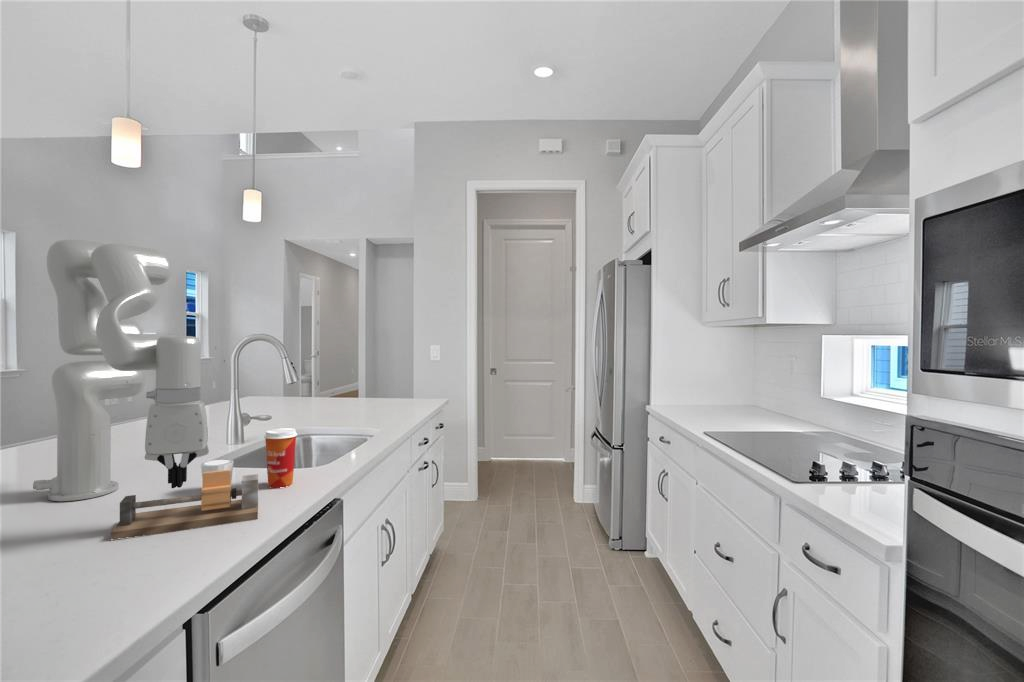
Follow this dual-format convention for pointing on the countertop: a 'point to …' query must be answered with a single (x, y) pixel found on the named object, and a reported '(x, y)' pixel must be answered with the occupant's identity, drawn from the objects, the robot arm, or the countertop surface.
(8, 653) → the countertop surface
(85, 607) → the countertop surface
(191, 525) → the wooden slider rail
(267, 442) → the paper cup
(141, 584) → the countertop surface
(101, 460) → the robot arm
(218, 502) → the orange sliding block
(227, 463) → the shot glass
